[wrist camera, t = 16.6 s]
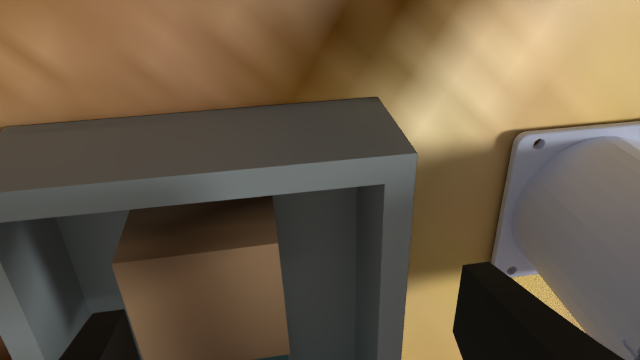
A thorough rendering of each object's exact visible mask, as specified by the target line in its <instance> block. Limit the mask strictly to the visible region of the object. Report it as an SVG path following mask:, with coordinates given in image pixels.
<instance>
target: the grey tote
mask: <svg viewBox="0 0 640 360" xmlns="http://www.w3.org/2000/svg"><path fill="white" fill-rule="evenodd" d="M416 164H417V152H416V150H415V149H414V148H413V146H412V145H411V143H410V142H409V141H408V139H407V138H406V136H405V135H404V133H403V132H402V131H401V129H400V128H399V126H398V125H397V123H396V122H395V121H394V119H393V118H392V116H391V115H390V114H389V112H388V111H387V109H386V108H385V106H384V105H383V104H382V102H381V101H380V99H379V98H378V97H371V98H359V99H346V100H334V101H321V102H309V103H296V104H284V105H272V106H259V107H247V108H234V109H222V110H209V111H197V112H185V113H172V114H160V115H147V116H135V117H122V118H110V119H98V120H85V121H73V122H60V123H48V124H36V125H23V126H11V127H4V128H3V129H2V130H1V131H0V336H1V338H2V340H3V342H4V344H5V346H6V348H7V350H8V352H9V354H10V356H11V358H12V360H59V358H60V357H61V356H62V354H63V353H64V351H65V350H66V349H67V347H68V346H69V345H70V343H71V342H72V340H73V339H74V338H75V336H76V335H77V334H78V332H79V331H80V329H81V328H82V327H83V325H84V324H85V323H86V321H87V320H88V318H89V317H90V316H91V315H92V314H93V313H98V312H105V311H113V310H121V309H125V312H126V316H127V319H128V322H129V325H130V328H131V332H132V335H133V338H134V341H135V344H136V348H137V351H138V354H139V357H140V360H143V358H142V355H141V352H140V349H139V346H138V343H137V340H136V337H135V334H134V331H133V328H132V325H131V322H130V319H129V316H128V313H127V310H126V307H125V304H124V301H123V298H122V295H121V292H120V289H119V286H118V283H117V280H116V277H115V274H114V271H113V268H112V265H111V263H112V260H113V258H114V255H115V252H116V249H117V246H118V243H119V240H120V237H121V234H122V231H123V228H124V225H125V222H126V220H127V217H128V214H129V211H130V210H131V209H141V208H151V207H161V206H171V205H181V204H191V203H201V202H211V201H221V200H231V199H240V198H250V197H260V196H270V195H272V196H273V204H274V213H275V221H276V229H277V238H278V246H279V256H280V265H281V274H282V283H283V292H284V301H285V311H286V320H287V329H288V338H289V347H290V354H288V360H401V354H402V341H403V329H404V316H405V303H406V291H407V278H408V265H409V253H410V240H411V227H412V215H413V202H414V189H415V177H416Z"/></svg>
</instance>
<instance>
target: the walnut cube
mask: <svg viewBox="0 0 640 360" xmlns="http://www.w3.org/2000/svg"><path fill="white" fill-rule="evenodd" d="M111 265H112V268H113V271H114V274H115V277H116V280H117V283H118V286H119V289H120V292H121V295H122V298H123V301H124V304H125V307H126V310H127V313H128V316H129V319H130V322H131V325H132V328H133V331H134V334H135V337H136V340H137V343H138V346H139V349H140V352H141V355H142V358H143V360H253V359H260V358H267V357H273V356H280V355H287V354H290V347H289V338H288V329H287V320H286V311H285V301H284V292H283V283H282V274H281V265H280V256H279V246H278V238H277V229H276V221H275V213H274V204H273V196H272V195H270V196H260V197H250V198H240V199H231V200H221V201H211V202H201V203H191V204H181V205H171V206H161V207H151V208H141V209H131V210H130V211H129V214H128V217H127V220H126V222H125V225H124V228H123V231H122V234H121V237H120V240H119V243H118V246H117V249H116V252H115V255H114V258H113V260H112V263H111Z"/></svg>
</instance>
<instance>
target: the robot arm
mask: <svg viewBox="0 0 640 360" xmlns="http://www.w3.org/2000/svg"><path fill="white" fill-rule="evenodd" d="M538 139H540V141H539V143H538V144H537V145H535V146H533V144H534V142H535V141H536V140H538ZM510 267H511V268H510ZM509 268H510V269H509ZM535 274H539V275H540V276H541V277H542V278H543V280H544V281H545V282H546V283H547V285H548V286H549V287H550V288H551V290H552V291H553V292H554V293H555V295H556V296H557V297H558V298H559V300H560V301H561V302H562V303H563V305H564V306H565V307H566V308H567V309H568V311H569V312H570V313H571V314H572V316H573V317H574V318H575V319H576V321H577V322H578V323H579V324H580V326H581V327H582V328H583V329H584V331H585V332H586V333H587V334H588V335H587V334H586V333H584V332H583V331H582V330H580V329H579V328H577V327H576V326H575V325H573V324H572V323H570V322H569V321H568V320H566V319H565V318H563V317H562V316H561V315H559V314H558V313H557V312H555V311H554V310H553V309H551V308H550V307H549V306H547V305H546V304H545V303H543V302H542V301H541V300H539V299H538V298H537V297H535V296H534V295H533V294H531V293H530V292H529V291H527V290H526V289H525V288H523V287H522V286H521V285H519V284H518V283H517V282H516V281H514V280H513V279H512V278H511V277H519V276H527V275H535ZM453 333H454V336H455V339H456V342H457V344H458V347H459V350H460V353H461V355H462V358H463V360H640V121H634V122H623V123H612V124H601V125H590V126H580V127H569V128H558V129H547V130H536V131H526V132H522V133H520V134H519V135H517V137H516V138H515V139H514V142H513V146H512V151H511V157H510V162H509V168H508V173H507V178H506V184H505V189H504V194H503V200H502V205H501V211H500V216H499V221H498V227H497V232H496V237H495V243H494V248H493V254H492V259H491V263H490V262H484V263H476V264H468V265H463V267H462V274H461V280H460V287H459V294H458V300H457V307H456V313H455V320H454V326H453ZM59 360H140V357H139V354H138V351H137V348H136V344H135V341H134V338H133V335H132V332H131V328H130V325H129V322H128V319H127V316H126V312H125V309H121V310H113V311H105V312H98V313H93V314H92V315H91V316H90V317H89V318H88V320H87V321H86V323H85V324H84V325H83V327H82V328H81V329H80V331H79V332H78V334H77V335H76V336H75V338H74V339H73V340H72V342H71V343H70V345H69V346H68V347H67V349H66V350H65V351H64V353H63V354H62V356H61V357H60V358H59Z"/></svg>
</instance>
